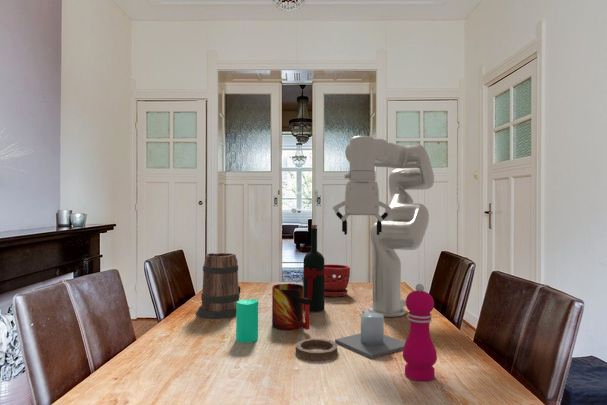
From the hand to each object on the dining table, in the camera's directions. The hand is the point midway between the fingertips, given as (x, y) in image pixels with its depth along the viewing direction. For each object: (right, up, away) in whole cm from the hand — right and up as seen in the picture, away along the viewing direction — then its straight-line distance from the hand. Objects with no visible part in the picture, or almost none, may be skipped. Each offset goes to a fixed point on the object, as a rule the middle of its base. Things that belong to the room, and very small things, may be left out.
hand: (361, 234), depth 122 cm
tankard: (-45, -28, +21) cm, 58 cm away
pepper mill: (+8, -28, -33) cm, 44 cm away
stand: (-14, -28, -20) cm, 37 cm away
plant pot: (-5, -29, +46) cm, 55 cm away
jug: (0, -27, -12) cm, 30 cm away
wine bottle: (-14, -29, +21) cm, 38 cm away
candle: (-33, -28, -10) cm, 45 cm away
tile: (+1, -28, -14) cm, 32 cm away
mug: (-20, -29, +2) cm, 35 cm away
